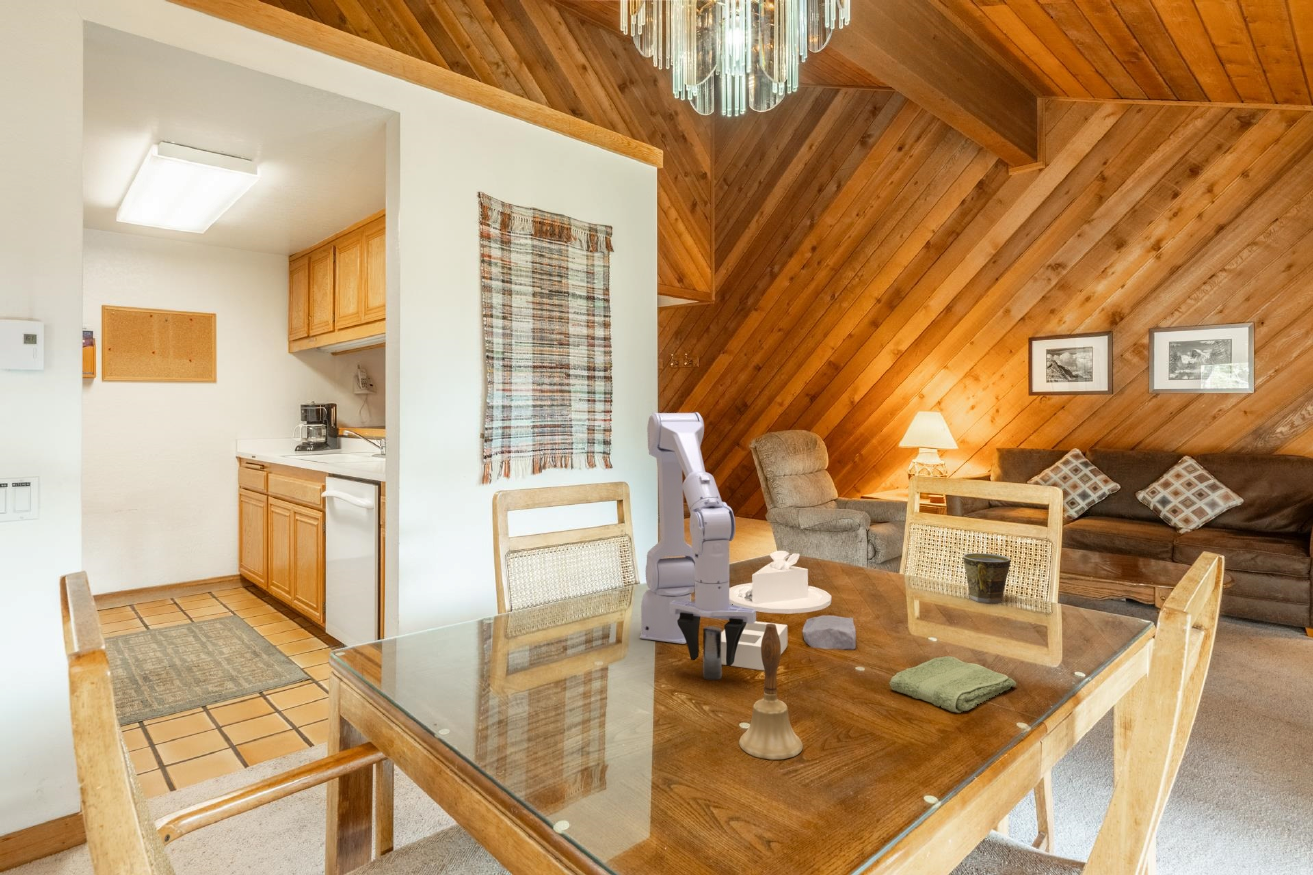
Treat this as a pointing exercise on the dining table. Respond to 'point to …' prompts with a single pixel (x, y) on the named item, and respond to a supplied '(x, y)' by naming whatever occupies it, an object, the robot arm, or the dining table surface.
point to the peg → (712, 653)
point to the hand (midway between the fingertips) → (712, 660)
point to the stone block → (830, 632)
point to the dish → (780, 588)
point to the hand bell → (770, 711)
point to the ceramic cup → (986, 576)
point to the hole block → (752, 645)
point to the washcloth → (951, 683)
